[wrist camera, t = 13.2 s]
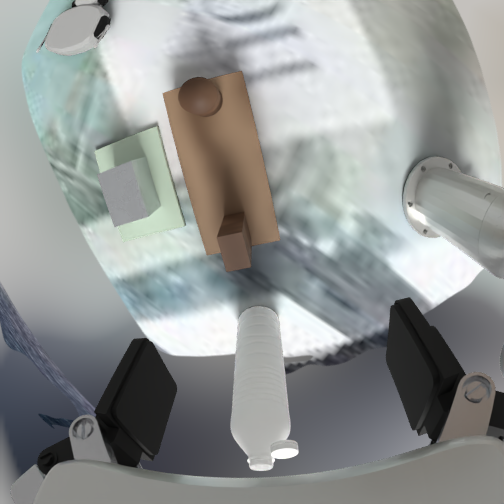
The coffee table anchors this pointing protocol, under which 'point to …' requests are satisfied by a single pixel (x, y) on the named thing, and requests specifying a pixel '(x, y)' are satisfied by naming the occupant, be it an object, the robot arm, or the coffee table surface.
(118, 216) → the grey rectangular block
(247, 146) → the plane body
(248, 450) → the water bottle
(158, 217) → the mat
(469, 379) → the robot arm
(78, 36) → the toy panda
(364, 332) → the coffee table surface
